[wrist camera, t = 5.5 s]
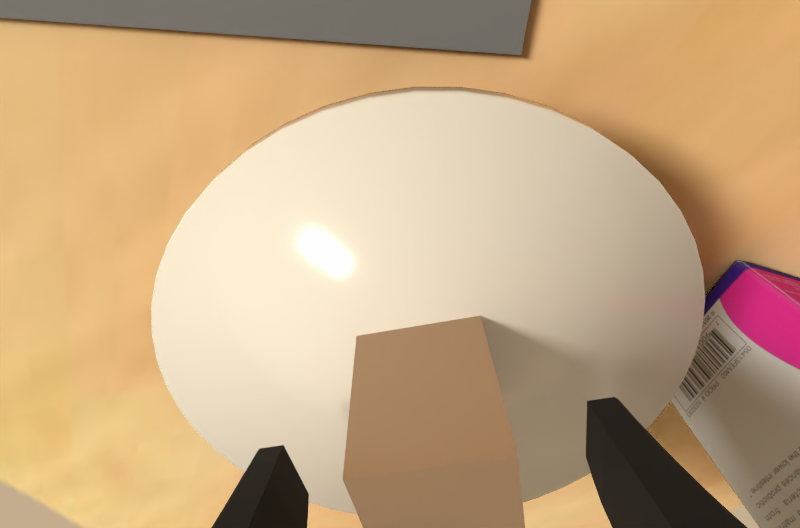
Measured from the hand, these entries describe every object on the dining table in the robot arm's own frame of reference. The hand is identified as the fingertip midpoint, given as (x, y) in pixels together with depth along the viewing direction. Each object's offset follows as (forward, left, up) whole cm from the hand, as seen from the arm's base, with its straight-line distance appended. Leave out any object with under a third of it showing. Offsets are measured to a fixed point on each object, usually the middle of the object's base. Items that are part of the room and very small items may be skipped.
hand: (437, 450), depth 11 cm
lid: (0, 0, -3) cm, 3 cm away
